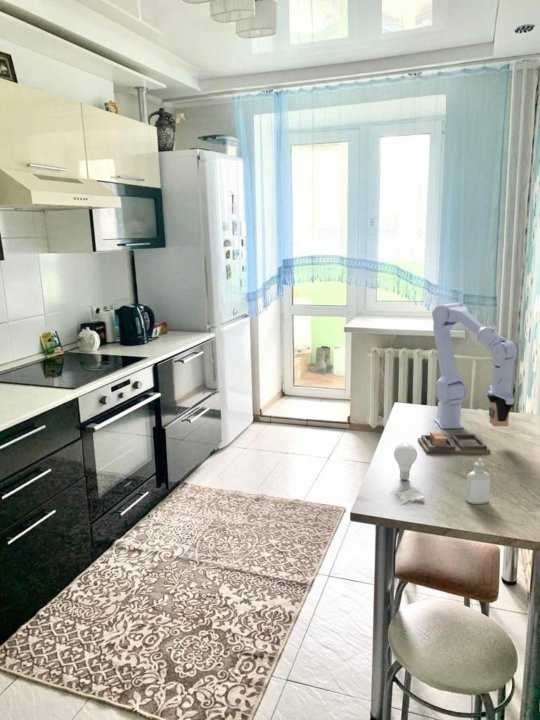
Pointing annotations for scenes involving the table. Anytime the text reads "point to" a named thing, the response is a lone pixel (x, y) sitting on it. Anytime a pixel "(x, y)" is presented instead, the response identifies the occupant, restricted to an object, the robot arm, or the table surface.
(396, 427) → the table surface
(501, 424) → the pinkish brown block
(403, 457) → the lightbulb
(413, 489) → the acanthus leaf ornament
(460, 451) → the brown flat tray
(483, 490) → the eye dropper bottle
